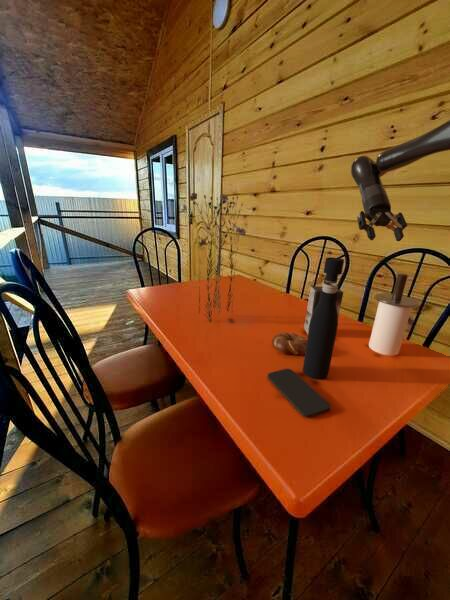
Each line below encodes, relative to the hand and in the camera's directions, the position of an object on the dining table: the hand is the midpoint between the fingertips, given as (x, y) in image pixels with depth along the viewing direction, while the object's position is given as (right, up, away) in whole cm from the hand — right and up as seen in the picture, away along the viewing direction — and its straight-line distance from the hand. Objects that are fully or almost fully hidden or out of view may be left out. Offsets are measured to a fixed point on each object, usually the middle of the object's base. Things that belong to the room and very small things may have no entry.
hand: (386, 239), depth 80 cm
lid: (-1, -19, -5) cm, 20 cm away
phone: (-35, -41, -21) cm, 57 cm away
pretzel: (-31, -34, -1) cm, 46 cm away
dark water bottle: (-27, -38, -13) cm, 49 cm away
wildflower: (-55, -26, +19) cm, 64 cm away
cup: (-1, -35, 0) cm, 35 cm away
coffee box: (-18, -31, +9) cm, 37 cm away
